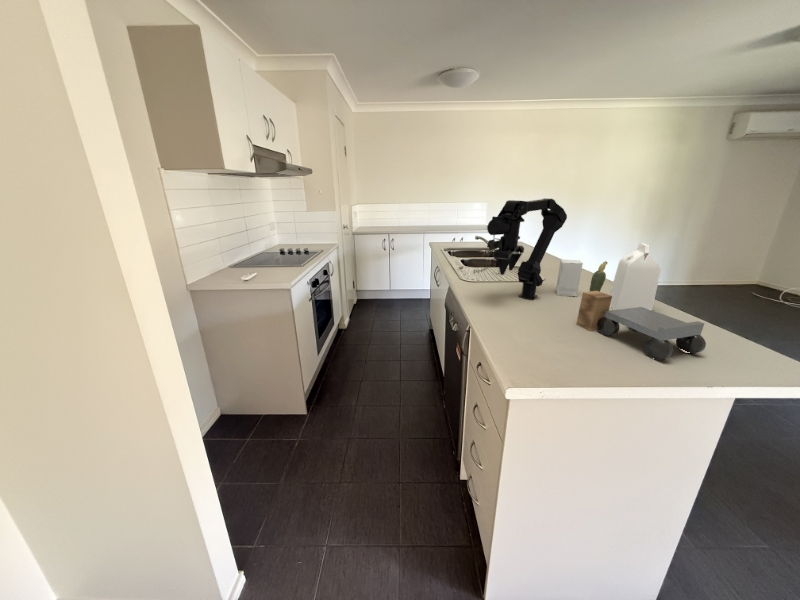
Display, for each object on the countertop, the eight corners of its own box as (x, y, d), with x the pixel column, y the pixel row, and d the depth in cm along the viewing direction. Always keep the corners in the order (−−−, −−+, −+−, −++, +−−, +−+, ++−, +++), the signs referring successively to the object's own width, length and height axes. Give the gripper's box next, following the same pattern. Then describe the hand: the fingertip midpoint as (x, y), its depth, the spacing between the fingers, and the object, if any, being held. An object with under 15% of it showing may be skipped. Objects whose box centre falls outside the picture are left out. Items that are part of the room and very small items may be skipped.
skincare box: (574, 293, 145) (581, 260, 140) (577, 297, 139) (584, 263, 134) (554, 291, 148) (560, 258, 143) (556, 295, 142) (562, 261, 137)
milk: (650, 316, 119) (670, 247, 110) (615, 312, 122) (632, 246, 114) (639, 306, 129) (656, 242, 121) (607, 303, 133) (621, 241, 124)
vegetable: (585, 311, 123) (596, 261, 117) (584, 308, 127) (594, 259, 120) (598, 313, 122) (610, 262, 115) (596, 309, 125) (608, 260, 119)
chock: (576, 324, 111) (582, 292, 107) (589, 322, 113) (596, 290, 109) (590, 331, 106) (597, 297, 102) (604, 329, 107) (612, 296, 103)
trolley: (595, 331, 106) (601, 304, 103) (629, 326, 110) (636, 300, 107) (662, 363, 86) (673, 332, 83) (701, 356, 90) (712, 326, 87)
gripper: (500, 230, 135) (496, 265, 140) (481, 234, 121) (478, 273, 127) (526, 232, 129) (521, 269, 134) (510, 236, 115) (505, 278, 120)
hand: (506, 272), depth 129 cm, fingers open, 9 cm apart
